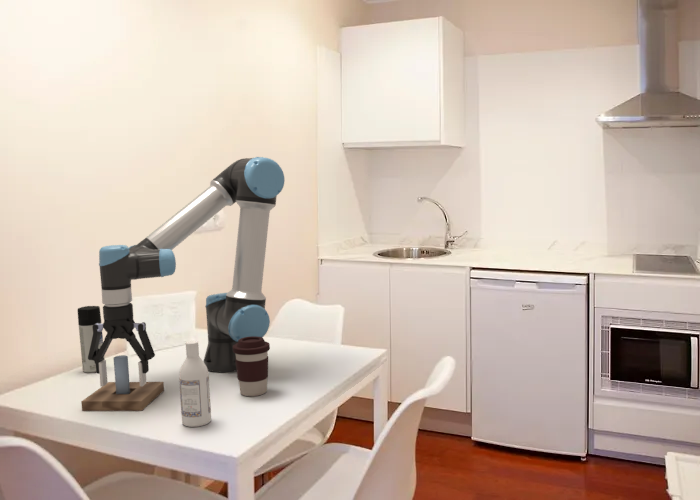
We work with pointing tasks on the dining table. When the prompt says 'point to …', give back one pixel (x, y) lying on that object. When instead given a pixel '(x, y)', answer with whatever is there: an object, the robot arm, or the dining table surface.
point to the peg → (121, 374)
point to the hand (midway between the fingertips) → (123, 384)
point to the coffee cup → (252, 365)
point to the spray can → (88, 334)
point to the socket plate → (122, 397)
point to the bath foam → (194, 388)
